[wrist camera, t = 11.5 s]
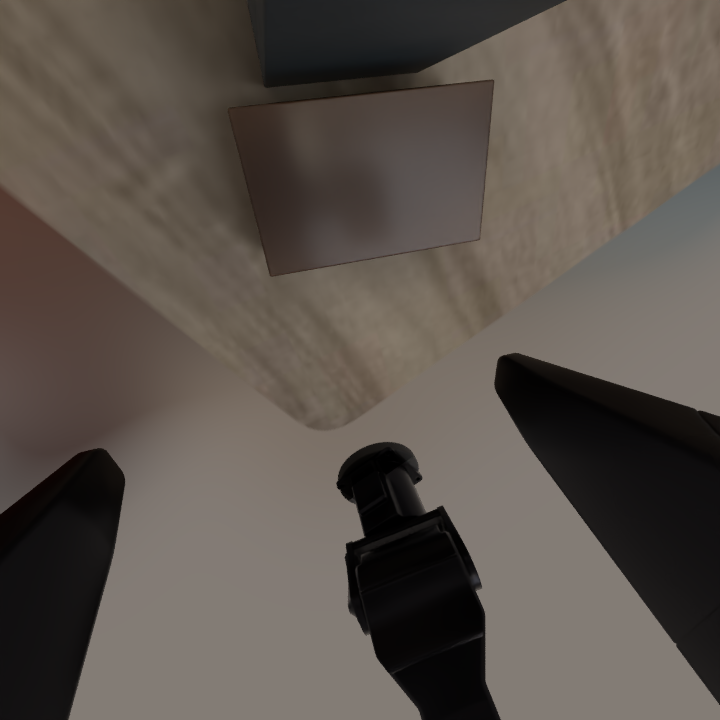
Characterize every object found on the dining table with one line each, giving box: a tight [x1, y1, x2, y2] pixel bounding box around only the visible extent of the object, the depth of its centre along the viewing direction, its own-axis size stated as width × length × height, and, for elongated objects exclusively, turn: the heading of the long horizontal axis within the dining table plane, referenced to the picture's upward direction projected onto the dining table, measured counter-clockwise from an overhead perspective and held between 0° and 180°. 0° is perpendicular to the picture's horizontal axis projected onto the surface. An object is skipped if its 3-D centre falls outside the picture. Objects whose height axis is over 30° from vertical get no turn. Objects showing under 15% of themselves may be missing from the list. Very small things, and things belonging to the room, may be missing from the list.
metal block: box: [228, 80, 494, 276], centre depth 16 cm, size 6×10×4 cm, turn 96°
